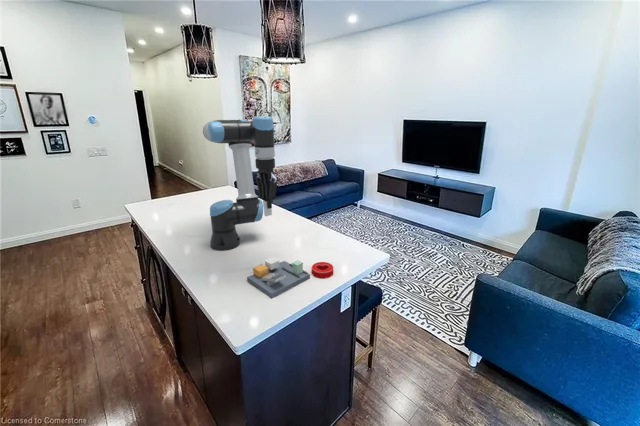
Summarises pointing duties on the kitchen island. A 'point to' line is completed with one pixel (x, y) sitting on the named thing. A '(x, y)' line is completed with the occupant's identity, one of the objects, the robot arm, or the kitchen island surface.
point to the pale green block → (297, 267)
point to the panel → (281, 285)
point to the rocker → (273, 277)
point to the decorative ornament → (322, 270)
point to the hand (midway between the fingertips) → (268, 215)
